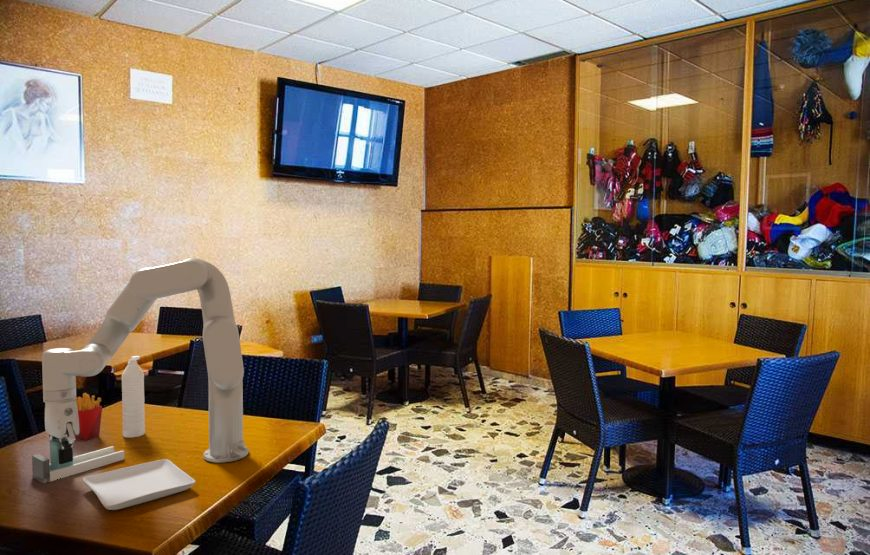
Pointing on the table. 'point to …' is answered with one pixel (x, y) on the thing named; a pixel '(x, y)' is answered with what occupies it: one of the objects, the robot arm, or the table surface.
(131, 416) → the water bottle
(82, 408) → the french fries
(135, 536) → the table surface
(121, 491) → the salad plate
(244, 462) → the table surface
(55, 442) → the block
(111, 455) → the channel
